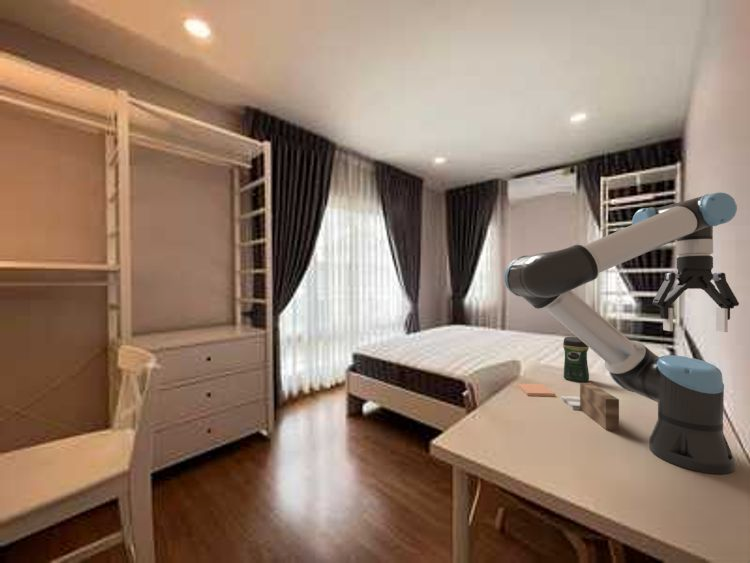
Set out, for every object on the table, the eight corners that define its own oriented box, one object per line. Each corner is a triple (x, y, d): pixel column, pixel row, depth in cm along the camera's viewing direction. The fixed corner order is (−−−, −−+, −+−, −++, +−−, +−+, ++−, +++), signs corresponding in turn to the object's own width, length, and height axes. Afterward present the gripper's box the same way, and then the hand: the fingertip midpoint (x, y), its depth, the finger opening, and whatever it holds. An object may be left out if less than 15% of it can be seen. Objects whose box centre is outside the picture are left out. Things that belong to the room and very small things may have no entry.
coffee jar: (590, 379, 149) (590, 337, 149) (586, 383, 144) (586, 339, 144) (566, 375, 156) (566, 335, 156) (561, 379, 150) (561, 337, 150)
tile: (555, 393, 127) (542, 384, 139) (527, 392, 128) (517, 383, 140) (555, 397, 127) (542, 388, 139) (527, 396, 128) (517, 387, 140)
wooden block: (627, 431, 97) (627, 399, 97) (597, 429, 98) (597, 398, 98) (584, 400, 123) (584, 375, 123) (560, 399, 124) (560, 374, 124)
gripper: (732, 256, 98) (732, 330, 98) (637, 257, 102) (637, 328, 102) (757, 254, 91) (758, 333, 91) (654, 255, 94) (655, 332, 94)
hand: (694, 331), depth 96 cm, fingers open, 13 cm apart
